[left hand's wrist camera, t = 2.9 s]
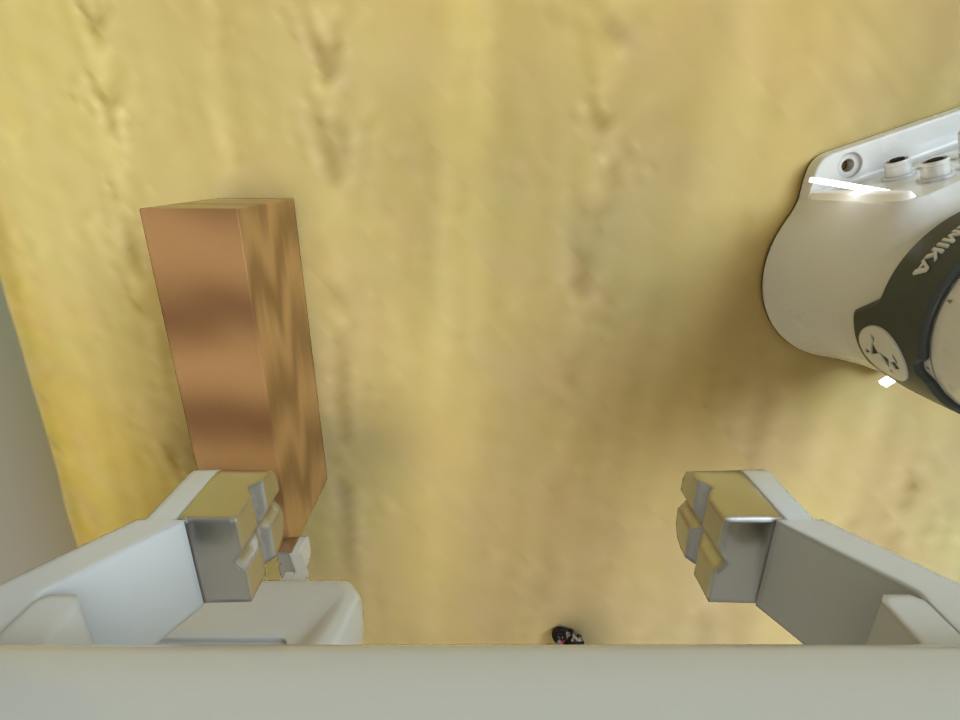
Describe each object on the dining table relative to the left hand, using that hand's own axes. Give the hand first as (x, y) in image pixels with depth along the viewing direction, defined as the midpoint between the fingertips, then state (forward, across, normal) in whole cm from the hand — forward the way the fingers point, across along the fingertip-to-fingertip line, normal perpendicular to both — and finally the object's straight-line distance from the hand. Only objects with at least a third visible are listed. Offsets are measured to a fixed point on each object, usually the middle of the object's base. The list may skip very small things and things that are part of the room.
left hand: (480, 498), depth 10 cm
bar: (+31, -16, -8) cm, 36 cm away
